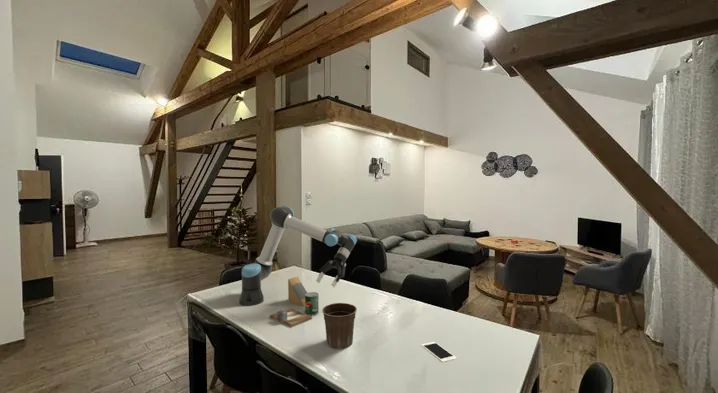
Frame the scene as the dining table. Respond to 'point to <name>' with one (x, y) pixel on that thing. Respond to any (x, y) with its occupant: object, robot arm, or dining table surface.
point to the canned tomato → (311, 303)
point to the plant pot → (339, 324)
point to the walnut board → (290, 317)
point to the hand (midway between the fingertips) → (325, 283)
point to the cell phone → (438, 351)
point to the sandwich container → (296, 292)
